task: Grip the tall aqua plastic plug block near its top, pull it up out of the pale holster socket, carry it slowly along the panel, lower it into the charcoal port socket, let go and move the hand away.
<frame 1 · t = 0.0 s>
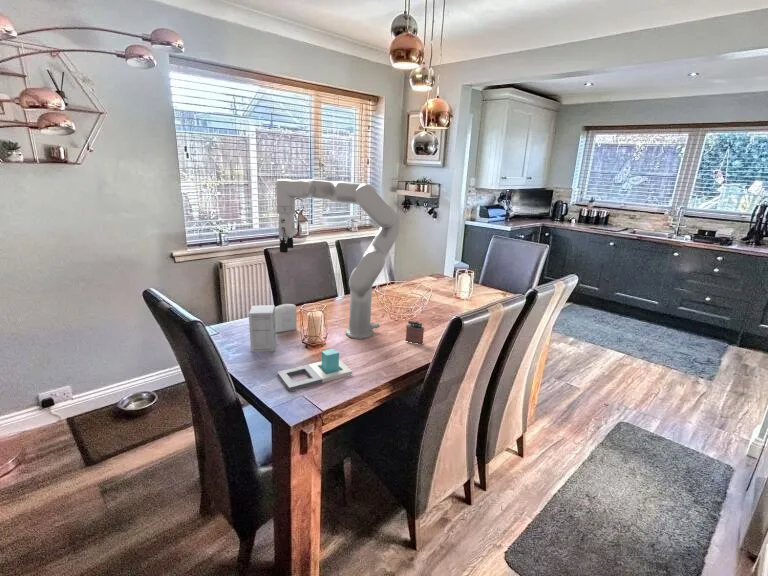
hand: (286, 249, 171), 37 cm above the table, tool pointing down, fingers open, 9 cm apart
supplement box: (264, 347, 164), on the table
grey toy tombstone: (285, 330, 181), on the table
panel: (315, 375, 144), on the table
plug: (330, 371, 147), resting in panel
lighter: (414, 342, 176), on the table
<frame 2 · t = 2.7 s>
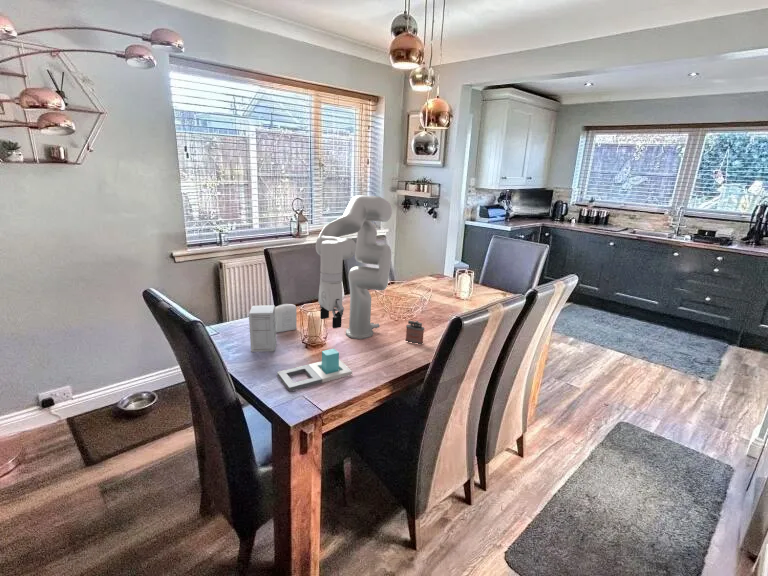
hand: (330, 322, 141), 19 cm above the table, tool pointing down, fingers open, 9 cm apart
nothing on the table moved.
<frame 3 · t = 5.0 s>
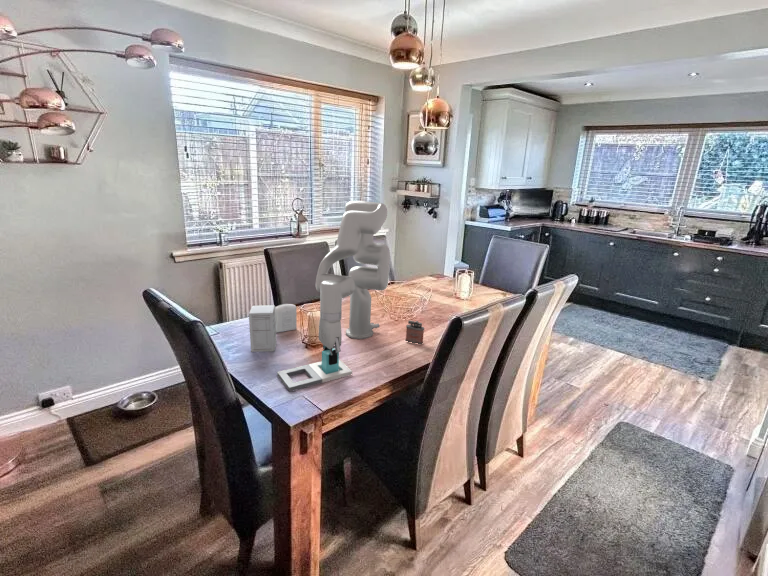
hand: (330, 360, 146), 4 cm above the table, tool pointing down, fingers closed on plug, 3 cm apart
plug: (330, 371, 147), resting in panel, touching gripper
everything else where it was.
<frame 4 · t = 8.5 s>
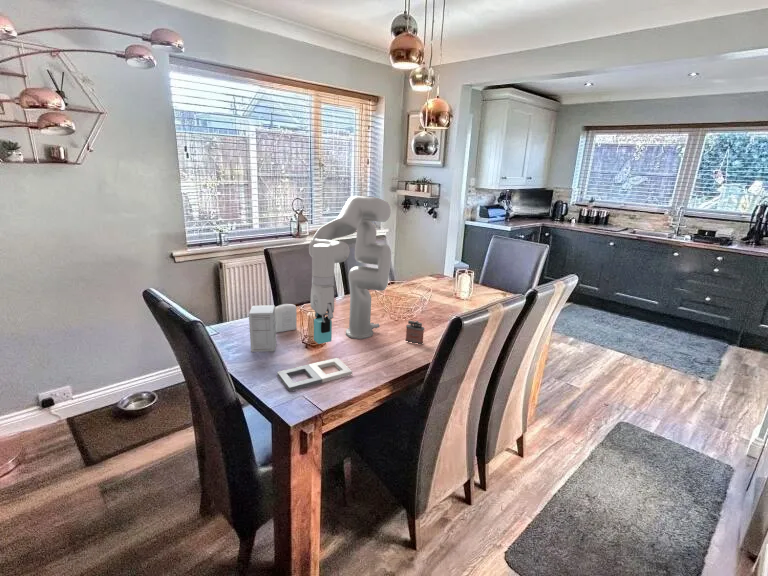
hand: (322, 329, 140), 18 cm above the table, tool pointing down, fingers closed on plug, 3 cm apart
plug: (322, 340, 141), point 13 cm above the table, touching gripper
everything else where it was.
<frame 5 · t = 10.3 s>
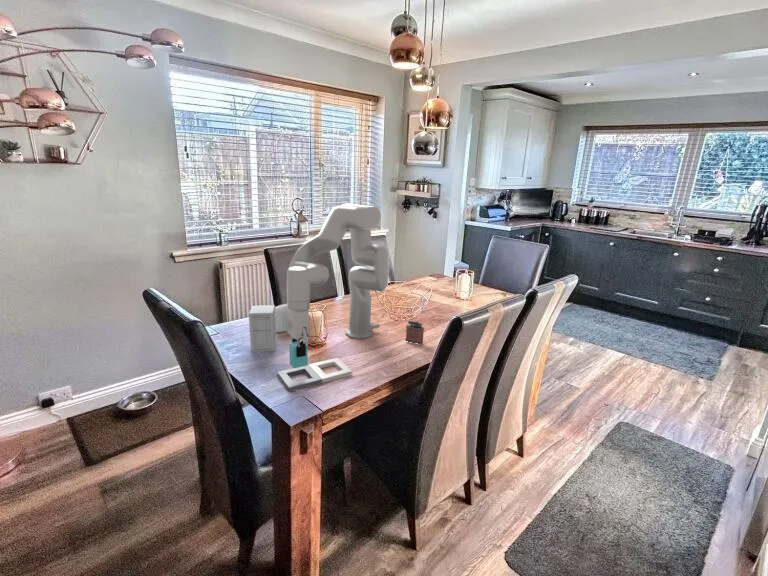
hand: (298, 353, 137), 10 cm above the table, tool pointing down, fingers closed on plug, 3 cm apart
plug: (298, 364, 139), point 6 cm above the table, touching gripper
everything else where it was.
when the fingers open (5 cm above the table, at t = 11.9 s): plug stays where it is, resting in panel.
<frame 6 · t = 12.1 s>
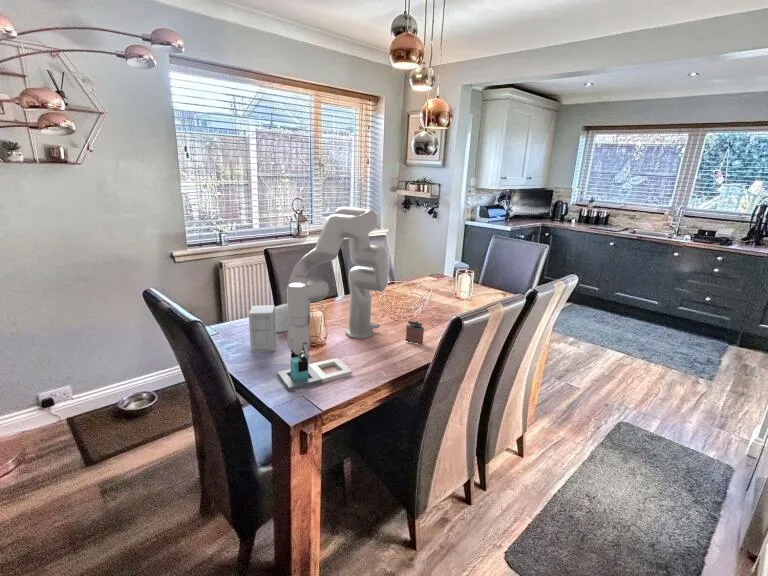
hand: (299, 366, 139), 5 cm above the table, tool pointing down, fingers open, 6 cm apart
plug: (299, 379, 141), resting in panel
everything else where it was.
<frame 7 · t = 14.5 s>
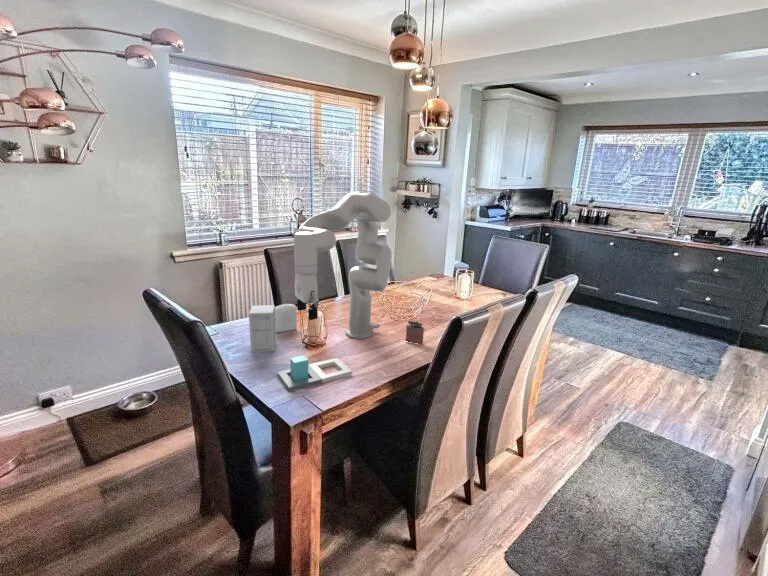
hand: (307, 314, 141), 22 cm above the table, tool pointing down, fingers open, 9 cm apart
nothing on the table moved.
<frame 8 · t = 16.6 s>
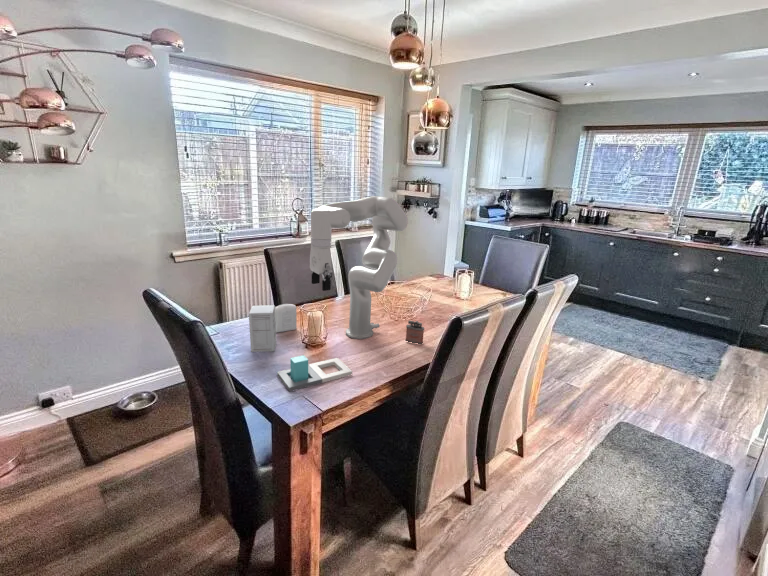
hand: (320, 286, 152), 28 cm above the table, tool pointing down, fingers open, 9 cm apart
nothing on the table moved.
at the end: plug 0.0 cm from the target spot on the panel, point 0.0 cm above the panel's base; plug tilted 0°; the gripper is holding nothing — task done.
